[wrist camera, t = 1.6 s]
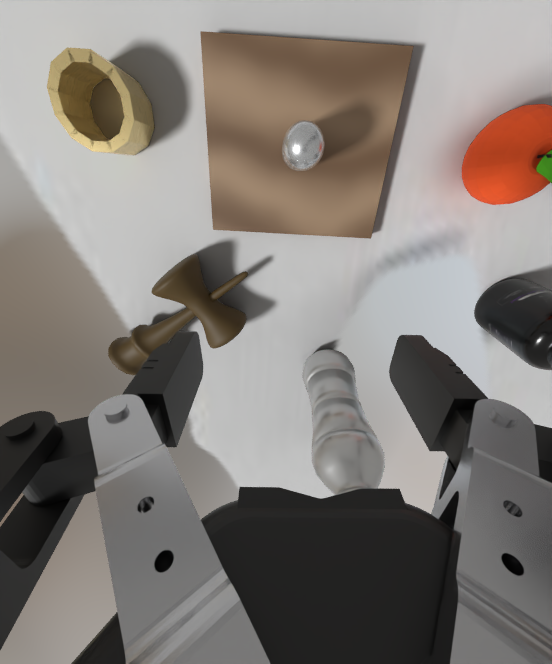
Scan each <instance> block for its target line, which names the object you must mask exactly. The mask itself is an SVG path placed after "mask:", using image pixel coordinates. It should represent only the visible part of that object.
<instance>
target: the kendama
mask: <svg viewBox="0 0 552 664" xmlns="http://www.w3.org/2000/svg"><path fill="white" fill-rule="evenodd" d="M247 275H248V272H246V271H245V272H242V273H241V274H239V275H237V276H236V277H234V278H232V279H231V280H229V281H228V282H226V283H225V284H223V285H222V286H220V287H219V288H217V289H216V290H214V291H213V292H211V293H210V292H209V290H208V289H207V287H206V286H205V284H204V282H203V278H202V274H201V268H200V262H199V258H198V256H197V255H196V254H193V255H190V256H188V257H187V258H185V259H184V260H182V261H181V262H179V263H178V264H177V265H175V266H174V267H173V268H172V269H171V270H169V271H168V272H167V273H166V274H165V275H164V276H163V277H162V278H161V279H160V280H159V281H158V282H157V283H156V284H155V286H154V287H153V288H152V293H153V295H156V296H158V297H162V298H165V299H169V300H173V301H176V302H179V303H182V304H184V305H185V306H186V307H187V308H186V309H184V310H182V311H180V312H179V313H177V314H175V315H173V316H171V317H169V318H167V319H165V320H163V321H161V322H159V323H157V324H154V325H152V326H148V325H139V326H137V327H136V328H135V329H134V331H133V332H132V336H131V337H129V338H128V337H122V338H117V339H116V340H115V341H113V342H112V343H111V345H110V347H109V351H108V352H109V353H108V354H109V355H108V356H109V358H110V360H111V361H112V363H113V364H114V365H115V366H116V367H117V368H118V369H119V370H121V371H123V372H125V373H126V374H131V375H136V374H137V373H138V371H139V370H140V369H141V367H142V365H143V364H144V363H145V361H147V358H148V357H149V356H150V354H151V353H152V351H153V350H155V349H156V348H158V347H159V346H161V345H162V344H167V343H168V341H169V340H170V339H171V338H172V337H173V336H174V335H175V334H176V332H178V331H179V330H180V329H182V328H183V327H184V326H185V325H186V324H187V323H188V322H189V321H191V320H192V319H193V318H194V317H195V316H197V317H198V319H199V320H200V321H201V323H202V325H203V327H204V330H205V334H206V338H207V341H208V344H209V345H210V347H211V348H218V347H221V346H223V345H225V344H227V343H228V342H230V341H231V340H232V339H234V338H235V337H236V336H237V335H238V334H239V333H240V331H241V330H242V329H243V327H244V325H245V323H246V320H247V318H246V314H245V313H243V312H241V311H239V310H237V309H234V308H231V307H229V306H226V305H224V304H222V303H221V302H219V301H218V300H217V299H219V298H220V297H221V296H222V295H224V294H225V293H226V292H228V291H229V290H230V289H232V288H233V287H234V286H236V285H237V284H238V283H240V282H241V281H242V280H243V279H244V278H246V277H247Z"/></svg>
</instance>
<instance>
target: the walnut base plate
mask: <svg viewBox="0 0 552 664" xmlns="http://www.w3.org/2000/svg"><path fill="white" fill-rule="evenodd" d="M201 47H202V62H203V78H204V94H205V109H206V125H207V141H208V156H209V172H210V188H211V204H212V219H213V230H229V231H247V232H265V233H283V234H301V235H319V236H337V237H355V238H371V236H372V231H373V227H374V222H375V218H376V213H377V209H378V204H379V200H380V195H381V191H382V186H383V182H384V177H385V173H386V168H387V164H388V159H389V155H390V150H391V146H392V141H393V137H394V132H395V128H396V123H397V118H398V114H399V109H400V105H401V100H402V96H403V91H404V87H405V82H406V78H407V73H408V69H409V64H410V60H411V55H412V51H413V46H404V45H389V44H375V43H360V42H346V41H331V40H317V39H302V38H288V37H273V36H259V35H244V34H230V33H216V32H201ZM301 120H308V121H312V122H314V123H315V124H316V125H317V126H318V127H319V128H320V129H321V131H322V133H323V136H324V142H325V146H324V152H323V155H322V157H321V159H320V161H319V162H318V163H317V164H316V165H315V166H314V167H313V168H311V169H309V170H305V171H295V170H292V169H290V168H289V167H288V166H287V165H286V164H285V162H284V160H283V156H282V146H283V140H284V137H285V134H286V132H287V131H288V129H289V128H290V127H291V126H292V125H293V124H294V123H296V122H298V121H301Z"/></svg>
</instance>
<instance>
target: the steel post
mask: <svg viewBox="0 0 552 664" xmlns="http://www.w3.org/2000/svg"><path fill="white" fill-rule="evenodd" d="M324 146H325V142H324V136H323V133H322V131H321V129H320V128H319V127H318V126H317V125H316V124H315V123H314V122H312V121H308V120H301V121H298V122H296V123H294V124H293V125H292V126H291V127H290V128H289V129H288V131H287V132H286V134H285V137H284V140H283V146H282V156H283V160H284V162H285V164H286V165H287V166H288V167H289V168H290V169H292V170H295V171H305V170H309V169H311V168H313V167H314V166H315V165H316V164H317V163H318V162H319V161H320V159H321V157H322V155H323V152H324Z"/></svg>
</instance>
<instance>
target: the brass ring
mask: <svg viewBox="0 0 552 664" xmlns="http://www.w3.org/2000/svg"><path fill="white" fill-rule="evenodd" d="M104 78H107V79H111V81H112V82H113V84H114V86H115V87H116V89H117V91H118V92H119V94H120V96H121V101H122V107H123V112H124V119H123V123H122V126H121V130H120V133H119V134H118V135H116V136H115V137H114V138H112V139H111V140H110V139H108V138H107V137H105V136H104V135H103V133H102V132H101V130H100V129H99V127H98V126H97V124H96V123H95V121H94V118H93V114H92V109H91V105H90V101H91V97H92V92H93V88H94V87H95V86H96V85H97V84H98V83H99V82H101V81H102V80H103V79H104ZM47 89H48V93H49V96H50V100H51V103H52V106H53V110H54V113H55V116H56V117H57V119H58V120H59V121H60V123H61V124H62V125H63V127H64V128H65V129H66V131H67V132H68V134H69V135H70V136H71V138H73V139H74V140H76V141H77V142H79V143H80V144H82V145H84V146H85V147H87V148H88V149H90V150H91V151H95V152H104V153H113V154H126V155H136V154H137V153H139V152H140V151H141V150H143V149H144V148H146V147H147V146H148V145H149V142H150V139H151V136H152V133H153V130H154V128H155V127H154V120H153V113H152V106H151V103H150V101H149V99H148V98H147V96H146V94H145V92H144V91H143V89H142V87H141V86H140V84H139V82H138V81H136V80H135V79H134V78H132V77H131V76H129V75H128V74H127V73H125V72H124V71H123V70H121V69H120V68H119V67H117V66H115V65H114V64H112V63H111V62H109V61H108V60H106V59H105V58H103V57H102V56H100V55H99V54H97V53H95V52H94V51H92V50H91V49H80V48H66V49H65V50H64V51H63V52H62V53H61V54H59V55H58V56H57V57H56V58H55V59H54V60H53V61H52V62H51V65H50V72H49V78H48V84H47Z"/></svg>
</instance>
